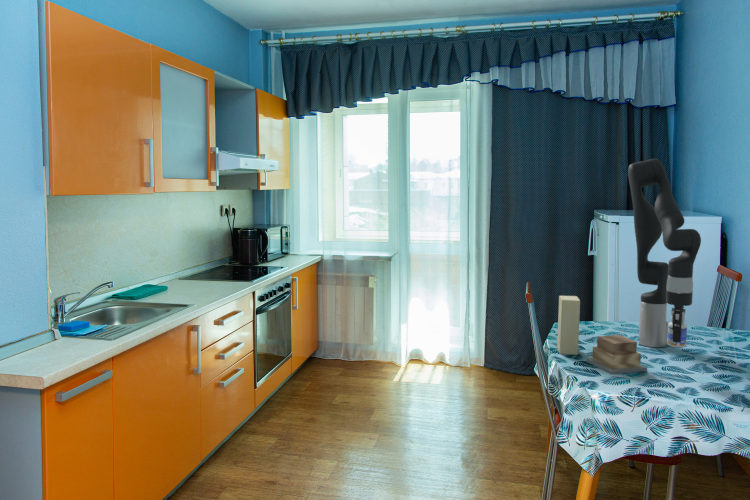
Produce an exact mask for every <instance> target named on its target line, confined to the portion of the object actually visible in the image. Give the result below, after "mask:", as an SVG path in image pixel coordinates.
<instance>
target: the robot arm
mask: <svg viewBox="0 0 750 500" xmlns="http://www.w3.org/2000/svg"><path fill="white" fill-rule="evenodd" d="M627 176H628V182H629V187H630V189H629V190H630V194H631V200H632V210H633V224H634V227H633V228H634V234H635V242H636V257H637V258H636V261H637V266H636V267H637V268H636V270H637V271H636V273H637V279H638V282H639V283H640V284H643V285H650V286H657V288H656V289H655V290H652V291H648V292H643V293H641V295H640V305H639V306H640V307H639V325H638V326H639V328H638V331H639V332H638V344H639V345H641V346H644V347H647V348H648V347H649V348H663V347H665V346H668V324H669V321H667V306H668V305H673V307H672V308H671V313H670V314H671V316H672V321H671V320H670V322H672V324H673V328H672V330H673V342H678V343H679V342H680V340H681V331H682V329H681V327H682V325H683V324H684V323H685V322H684V317H685V316H686V308H685V307H688V306H691V305H693V295H694V294H693V292H694V291H693V290H694V281H693V273H694V263H695V261H696V258H697V255H698V253H699V250H700V248H701V247H700V246H701V243H702V238H701V234H700V233H699V231H698V230H696V229H695V228H686V229H685V228H681V227H683V225H684V224H685V218H684V215H683V213H682V212H681V210H680V208H679V206H678V204H677V201H676V199H675V198H674V194H673V191H672V188H671V185H670V181H669V179H668V175H667V172H666V169H665V167H664V165H663V163H662V162H661V161H660V159H658V158H651V159H647V160H641V161H636V162H633V163H631V164H629V166H628V170H627ZM653 185H658V194H657V196H656V199H655V201H654V206H653V205H652V204H651V203H650V201H648V199H647V198H646V197H645V196H644V192H643V188H645V187H649V186H653ZM661 236H662V242H663V245H664V247H665V248H666V249H667V250H669V251H671V252H681V254H680V255H678V256H676V257H672V258H670V259H669V261H668V263H667V262H664V261H653V260H652V261H650V260H649V259H648V258H649V257H648V256H649V254H650V252H651V251H652V249H653V247H655V245H656V244H657V243H658V241H659V240H660V238H661ZM675 324H679V325H680V327H675Z"/></svg>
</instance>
